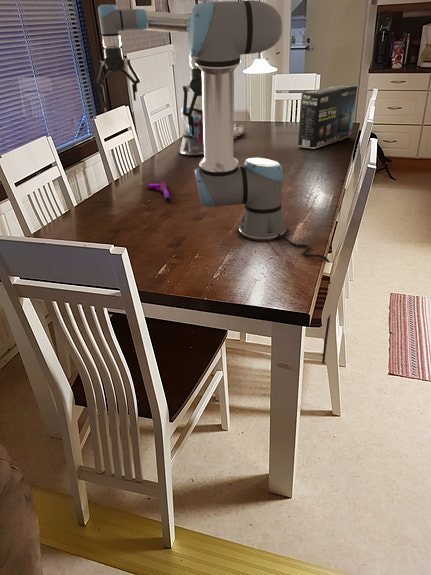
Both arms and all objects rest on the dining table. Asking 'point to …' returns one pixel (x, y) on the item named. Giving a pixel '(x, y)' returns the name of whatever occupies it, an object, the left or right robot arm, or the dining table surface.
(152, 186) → the handgun
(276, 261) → the dining table surface
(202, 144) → the action figure
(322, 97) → the router box
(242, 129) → the fossil
